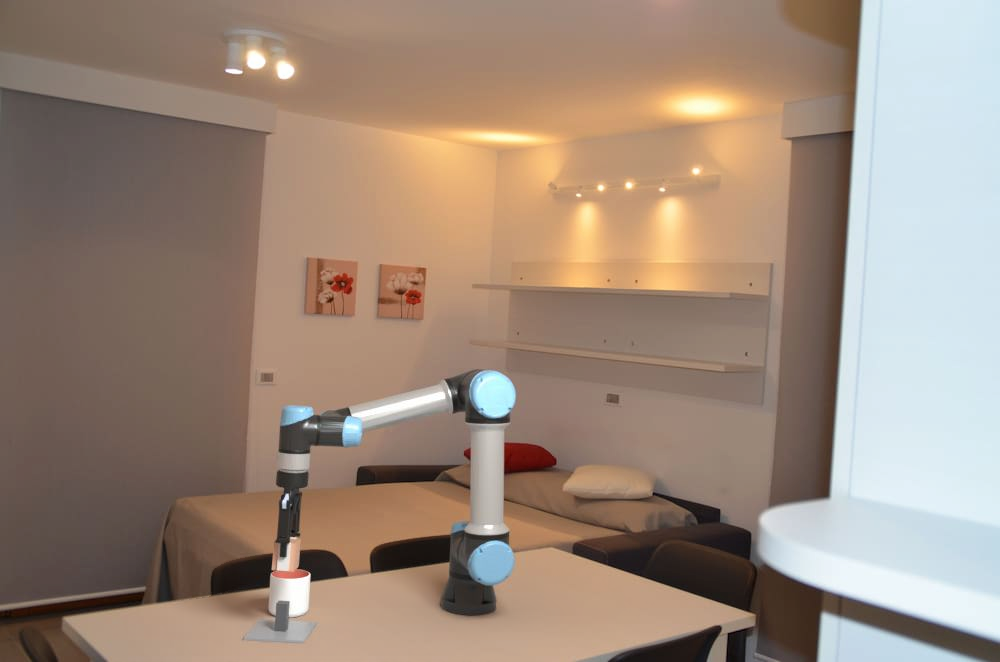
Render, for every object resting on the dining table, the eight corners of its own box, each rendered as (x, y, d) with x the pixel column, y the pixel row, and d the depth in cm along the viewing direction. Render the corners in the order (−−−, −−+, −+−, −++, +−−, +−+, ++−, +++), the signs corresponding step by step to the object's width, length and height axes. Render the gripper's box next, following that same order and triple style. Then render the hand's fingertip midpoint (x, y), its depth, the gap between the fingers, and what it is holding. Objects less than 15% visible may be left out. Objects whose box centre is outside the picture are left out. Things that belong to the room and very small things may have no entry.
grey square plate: (316, 624, 214) (318, 595, 214) (304, 643, 200) (305, 612, 200) (259, 621, 214) (261, 592, 214) (243, 640, 200) (245, 609, 200)
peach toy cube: (298, 566, 210) (300, 539, 210) (293, 571, 205) (295, 543, 205) (277, 564, 210) (279, 537, 210) (271, 570, 205) (273, 542, 205)
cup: (298, 621, 216) (300, 580, 216) (261, 616, 218) (263, 576, 218) (314, 609, 226) (316, 571, 226) (278, 605, 228) (281, 567, 228)
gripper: (286, 464, 217) (279, 557, 217) (267, 474, 199) (259, 575, 199) (316, 466, 217) (309, 559, 217) (299, 476, 199) (292, 578, 199)
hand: (285, 567), depth 208 cm, fingers closed on peach toy cube, 5 cm apart
